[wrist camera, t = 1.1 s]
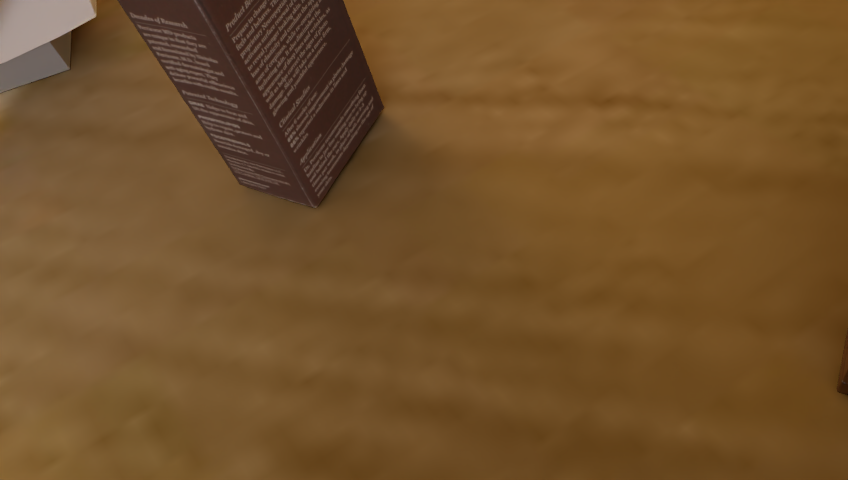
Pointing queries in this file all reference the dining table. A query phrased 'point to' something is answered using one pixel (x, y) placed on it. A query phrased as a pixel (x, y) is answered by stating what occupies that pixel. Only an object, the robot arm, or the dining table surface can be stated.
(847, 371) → the chest
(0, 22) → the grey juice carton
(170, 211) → the dining table surface
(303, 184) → the box
